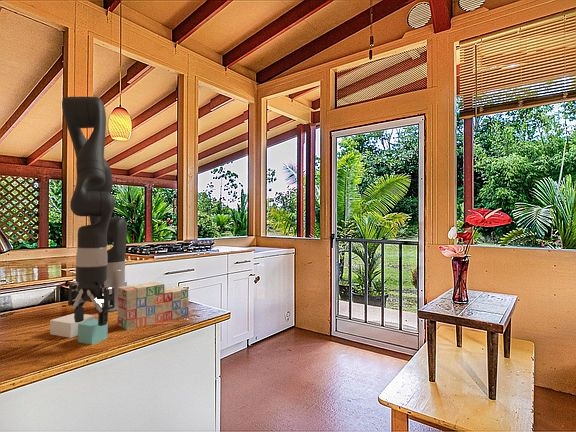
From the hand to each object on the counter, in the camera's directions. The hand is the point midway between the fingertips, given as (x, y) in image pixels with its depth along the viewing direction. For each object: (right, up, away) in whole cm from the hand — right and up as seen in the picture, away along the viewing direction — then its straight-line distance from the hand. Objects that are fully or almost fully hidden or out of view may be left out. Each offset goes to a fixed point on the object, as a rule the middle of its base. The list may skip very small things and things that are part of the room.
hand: (90, 323), depth 95 cm
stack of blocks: (+10, -5, +19) cm, 22 cm away
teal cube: (0, -5, +1) cm, 5 cm away
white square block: (-9, -5, +7) cm, 12 cm away
